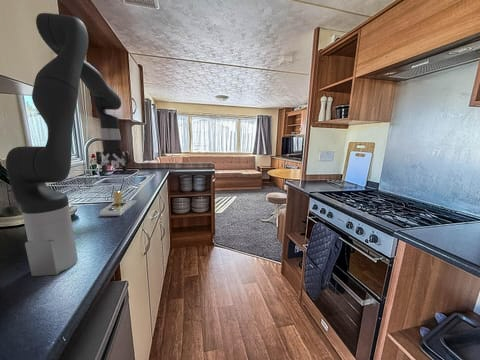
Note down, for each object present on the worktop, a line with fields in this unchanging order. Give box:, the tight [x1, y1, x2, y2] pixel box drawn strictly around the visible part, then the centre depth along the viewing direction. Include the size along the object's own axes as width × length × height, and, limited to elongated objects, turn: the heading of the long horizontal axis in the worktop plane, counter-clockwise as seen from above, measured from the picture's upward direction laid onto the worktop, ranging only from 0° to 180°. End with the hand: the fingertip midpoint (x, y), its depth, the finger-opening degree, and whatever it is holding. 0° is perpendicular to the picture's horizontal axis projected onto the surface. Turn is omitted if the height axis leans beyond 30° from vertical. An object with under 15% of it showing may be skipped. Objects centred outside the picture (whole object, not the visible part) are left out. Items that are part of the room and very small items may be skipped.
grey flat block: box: [99, 199, 137, 217], centre depth 104 cm, size 20×8×3 cm, turn 7°
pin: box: [112, 190, 124, 206], centre depth 102 cm, size 4×4×9 cm
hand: (115, 173), depth 99 cm, fingers open, 8 cm apart
